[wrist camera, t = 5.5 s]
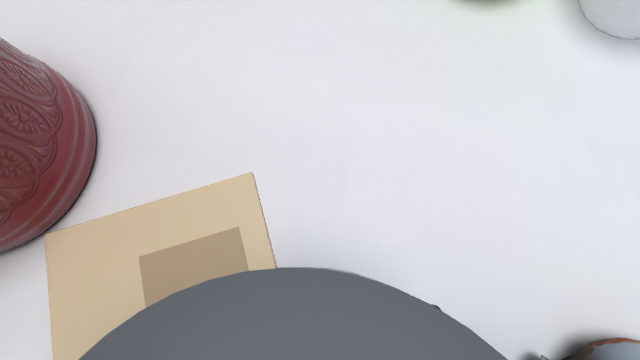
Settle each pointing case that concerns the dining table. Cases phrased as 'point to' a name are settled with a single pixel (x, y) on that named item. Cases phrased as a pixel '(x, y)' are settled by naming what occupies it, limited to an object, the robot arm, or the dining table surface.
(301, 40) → the dining table surface
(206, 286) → the water bottle
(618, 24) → the white cylinder
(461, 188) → the dining table surface
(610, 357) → the lucky cat figurine
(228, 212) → the kraft sheet
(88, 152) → the canister
